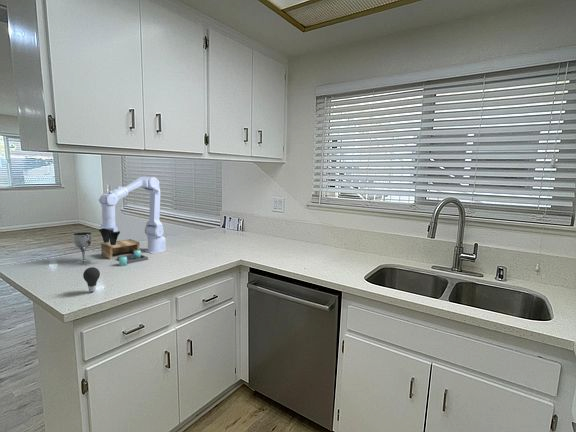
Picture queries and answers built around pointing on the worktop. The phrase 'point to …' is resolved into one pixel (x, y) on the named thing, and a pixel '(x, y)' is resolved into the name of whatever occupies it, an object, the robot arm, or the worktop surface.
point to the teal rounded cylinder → (137, 254)
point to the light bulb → (91, 277)
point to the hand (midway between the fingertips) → (109, 243)
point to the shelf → (119, 247)
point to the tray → (131, 259)
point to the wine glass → (82, 244)
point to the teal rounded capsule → (123, 261)
